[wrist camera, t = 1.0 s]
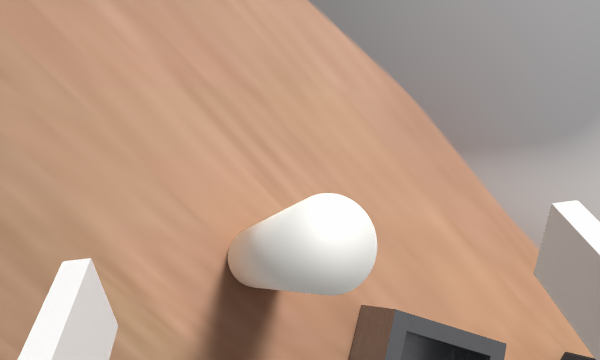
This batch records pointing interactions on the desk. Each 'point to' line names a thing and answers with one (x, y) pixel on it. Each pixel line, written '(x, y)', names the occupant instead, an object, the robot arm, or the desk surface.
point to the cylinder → (307, 248)
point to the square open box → (416, 339)
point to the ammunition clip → (575, 357)
